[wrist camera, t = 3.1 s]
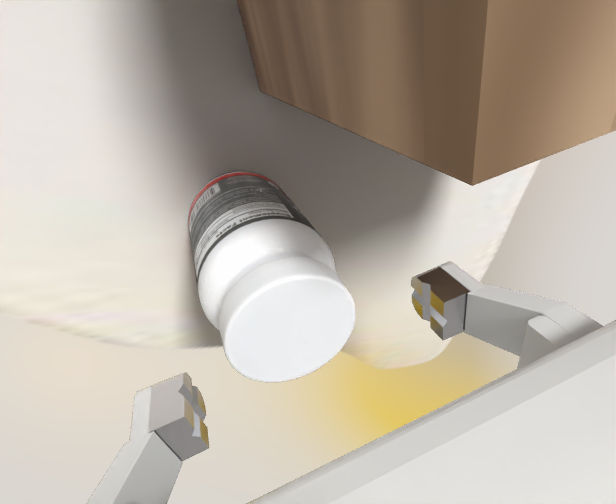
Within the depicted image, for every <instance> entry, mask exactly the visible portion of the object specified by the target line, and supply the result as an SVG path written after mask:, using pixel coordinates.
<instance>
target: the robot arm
mask: <svg viewBox="0 0 616 504" xmlns="http://www.w3.org/2000/svg"><path fill="white" fill-rule="evenodd" d="M411 286H412V287H413V288H414V289H415V290H414V292H413V294H412V303H413V305H414V308H415V310H416V311H417V313H418V314H419V316H420V317H421V318H422V319H424V320H427V321H430V323H431V328H432V330H433V331H434V332H435V333H436V334H437V335H438V336H439V337H440V338H441V339H442V340H445V339H447V338H450V337H452V336H454V335H457V334H459V333H461V332H465V333H467V334H469V335H472V336H474V337H476V338H478V339H481V340H483V341H485V342H487V343H490V344H492V345H495V346H497V347H499V348H501V349H504V350H506V351H509V352H511V353H513V354H516V355H518V356H520V358H519V362H518V367H517V369H516V370H514V371H512V372H511V373H508V374H506V375H504V376H502V377H500V378H498V379H497V380H494V381H492V382H490V383H488V384H486V385H484V386H482V387H480V388H478V389H476V390H474V391H472V392H470V393H468V394H466V395H464V396H462V397H460V398H458V399H456V400H454V401H452V402H450V403H448V404H446V405H444V406H442V407H440V408H438V409H436V410H434V411H432V412H430V413H428V414H426V415H424V416H422V417H420V418H418V419H416V420H414V421H412V422H410V423H408V424H406V425H404V426H402V427H400V428H398V429H396V430H394V431H392V432H390V433H388V434H386V435H384V436H382V437H380V438H378V439H376V440H374V441H372V442H370V443H368V444H366V445H364V446H362V447H360V448H358V449H356V450H354V451H352V452H350V453H348V454H346V455H344V456H342V457H340V458H338V459H336V460H333V461H331V462H330V463H327V464H325V465H323V466H321V467H319V468H317V469H315V470H313V471H311V472H309V473H307V474H306V475H304V476H301V477H300V478H298V479H295V480H294V481H291V482H289V483H287V484H285V485H284V486H281V487H279V488H277V489H275V490H273V491H272V492H269V493H267V494H265V495H263V496H261V497H259V498H257V499H255V500H253V501H251V502H249V503H247V504H616V320H615V321H613V322H611V323H609V324H607V325H605V326H602V325H601V324H599V323H598V322H596V321H594V320H593V319H591V318H590V317H588V316H586V315H585V314H583V313H582V312H580V311H579V310H577V309H576V308H574V307H572V306H571V305H569V304H568V303H566V302H563V301H559V300H555V299H550V298H546V297H542V296H537V295H533V294H528V293H524V292H520V291H515V290H511V289H506V288H502V287H497V286H493V285H489V284H487V285H485V286H484V285H483V284H481V283H480V282H479V281H477V280H476V279H475V278H473V277H472V276H471V275H469V274H468V273H467V272H465V271H464V270H463V269H461V268H460V267H459V266H457V265H456V264H455V263H453V262H450V261H449V262H447V263H444V264H442V265H440V266H437V267H435V268H433V269H430V270H428V271H426V272H423V273H421V274H419V275H416V276H414V277H412V280H411ZM205 416H206V411H205V405H204V401H203V398H202V396H201V393H200V391H199V390H198V388H197V387H195V386H192V382H191V378H190V376H189V375H188V374H187V373H182V374H180V375H177V376H174V377H172V378H169V379H167V380H164V381H162V382H159V383H157V384H154V385H152V386H150V387H147V388H145V389H142V390H139V391H137V393H136V394H135V397H134V405H133V414H132V424H131V432H130V441H129V442H128V443H126V444H124V445H123V447H122V449H121V450H120V452H119V453H118V455H117V456H116V458H115V460H114V461H113V463H112V464H111V466H110V467H109V469H108V471H107V472H106V474H105V475H104V477H103V479H102V480H101V482H100V483H99V485H98V486H97V488H96V489H95V491H94V492H93V494H92V496H91V497H90V499H89V500H88V502H87V503H86V504H167V501H168V499H169V496H170V493H171V491H172V489H173V486H174V484H175V481H176V478H177V476H178V473H179V471H180V468H181V465H182V461H183V460H185V459H188V458H190V457H192V456H194V455H196V454H198V453H200V452H202V451H204V450H206V449H208V448H209V441H208V432H207V431H208V430H207V427H206V426H205V424H204V423H203V420H204V418H205Z"/></svg>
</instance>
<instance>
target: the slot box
mask: <svg viewBox="0 0 616 504" xmlns="http://www.w3.org/2000/svg"><path fill="white" fill-rule="evenodd" d="M237 3H238V7H239V11H240V15H241V18H242V22H243V26H244V30H245V34H246V38H247V42H248V45H249V49H250V53H251V57H252V61H253V65H254V68H255V72H256V76H257V80H258V84H259V88H260V91H261V92H263V93H266V94H268V95H270V96H272V97H275V98H277V99H279V100H281V101H284V102H286V103H288V104H290V105H292V106H295V107H297V108H299V109H301V110H304V111H306V112H308V113H310V114H313V115H315V116H317V117H319V118H322V119H324V120H326V121H328V122H331V123H333V124H335V125H337V126H340V127H342V128H344V129H346V130H348V131H351V132H353V133H355V134H357V135H360V136H362V137H364V138H366V139H369V140H371V141H373V142H375V143H378V144H380V145H382V146H384V147H387V148H389V149H391V150H393V151H396V152H398V153H400V154H402V155H405V156H407V157H409V158H411V159H413V160H416V161H418V162H420V163H422V164H425V165H427V166H429V167H431V168H434V169H436V170H438V171H440V172H443V173H445V174H447V175H449V176H452V177H454V178H456V179H458V180H461V181H463V182H465V183H467V184H469V185H472V186H473V185H475V184H478V183H480V182H483V181H486V180H488V179H491V178H493V177H496V176H499V175H501V174H504V173H506V172H509V171H512V170H514V169H517V168H519V167H522V166H524V165H527V164H530V163H532V162H535V161H537V160H540V159H543V158H545V157H548V156H550V155H553V154H555V153H558V152H560V151H563V150H566V149H568V148H571V147H574V146H576V145H578V144H581V143H584V142H587V141H589V140H592V139H594V138H597V137H599V136H602V135H605V134H607V133H610V132H612V131H615V130H616V0H237Z"/></svg>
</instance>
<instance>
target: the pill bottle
mask: <svg viewBox="0 0 616 504" xmlns="http://www.w3.org/2000/svg"><path fill="white" fill-rule="evenodd" d="M188 225H189V233H190V239H191V246H192V252H193V259H194V266H195V274H196V281H197V288H198V293H199V298H200V303H201V306H202V309H203V311H204V313H205V315H206V317H207V318H208V320H209V321H210V322H211V324H212V325H213V326H214V327H215V328H216V329H217V330H219V331H220V334H221V339H222V343H223V347H224V351H225V355H226V357H227V359H228V361H229V363H230V364H231V365H232V367H233V368H234V369H235V370H236V371H237V372H239V373H240V374H242V375H243V376H245V377H247V378H249V379H252V380H256V381H261V382H283V381H289V380H293V379H297V378H300V377H302V376H305V375H307V374H309V373H311V372H314V371H315V370H317V369H319V368H320V367H322V366H323V365H324V364H326V363H327V362H328V361H329V360H331V359H332V358H333V357H334V356H335V355H336V354H337V353H338V352H339V351H340V350H341V349H342V347H343V346H344V345H345V343H346V342H347V340H348V338H349V336H350V334H351V332H352V330H353V327H354V323H355V316H356V314H355V305H354V301H353V298H352V296H351V294H350V292H349V291H348V290H347V288H346V287H345V285H344V284H343V282H342V281H341V279H340V277H339V276H338V274H337V273H336V268H335V262H334V258H333V255H332V252H331V250H330V249H329V247H328V245H327V244H326V242H325V241H324V239H323V238H322V236H321V235H320V234H319V233H318V232H317V231H316V230H315V228H314V227H313V226H312V225H311V224H310V223H309V221H308V220H307V219H306V218H305V217H304V216H303V214H302V213H301V212H300V211H299V210H298V209H297V207H296V206H295V205H294V204H293V202H292V201H291V200H290V199H289V198H288V197H287V195H286V194H285V193H284V192H283V191H282V190H281V188H280V187H279V186H277V185H276V184H275V183H274V182H273V181H271V180H270V179H268V178H266V177H264V176H262V175H259V174H256V173H252V172H231V173H227V174H224V175H221V176H219V177H217V178H215V179H213V180H211V181H210V182H209V183H207V184H206V185H205V186H204V187H203V188H202V189H201V190H200V191H199V192H198V194H197V195H196V197H195V198H194V200H193V202H192V205H191V208H190V212H189V220H188Z"/></svg>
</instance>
